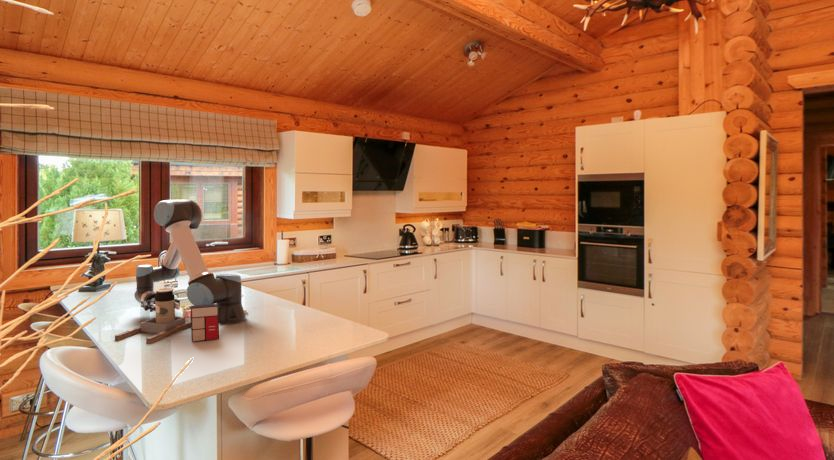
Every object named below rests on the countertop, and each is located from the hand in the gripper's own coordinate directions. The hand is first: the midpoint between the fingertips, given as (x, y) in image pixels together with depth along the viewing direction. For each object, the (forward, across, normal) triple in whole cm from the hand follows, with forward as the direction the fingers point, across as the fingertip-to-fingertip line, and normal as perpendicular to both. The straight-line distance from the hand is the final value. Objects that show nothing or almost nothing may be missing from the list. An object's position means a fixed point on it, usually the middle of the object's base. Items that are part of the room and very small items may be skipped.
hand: (168, 308), depth 226 cm
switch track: (-1, +6, -10) cm, 12 cm away
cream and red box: (+24, -6, -11) cm, 27 cm away
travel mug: (-5, 0, -10) cm, 11 cm away
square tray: (-4, +1, -10) cm, 11 cm away
